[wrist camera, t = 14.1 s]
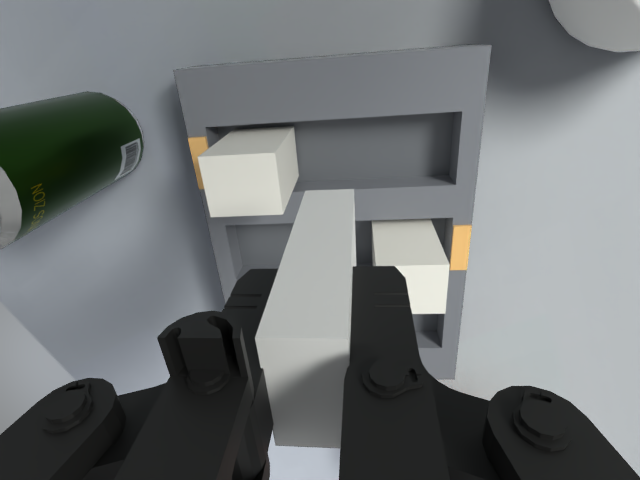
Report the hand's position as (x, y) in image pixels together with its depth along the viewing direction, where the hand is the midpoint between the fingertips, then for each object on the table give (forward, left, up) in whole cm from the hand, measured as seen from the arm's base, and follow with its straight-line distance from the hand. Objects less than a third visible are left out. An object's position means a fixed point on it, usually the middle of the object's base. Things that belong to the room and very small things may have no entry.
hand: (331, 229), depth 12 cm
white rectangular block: (0, -5, -12) cm, 13 cm away
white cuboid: (+6, +3, -12) cm, 14 cm away
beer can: (-1, -15, -14) cm, 20 cm away
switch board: (+6, -1, -13) cm, 15 cm away
